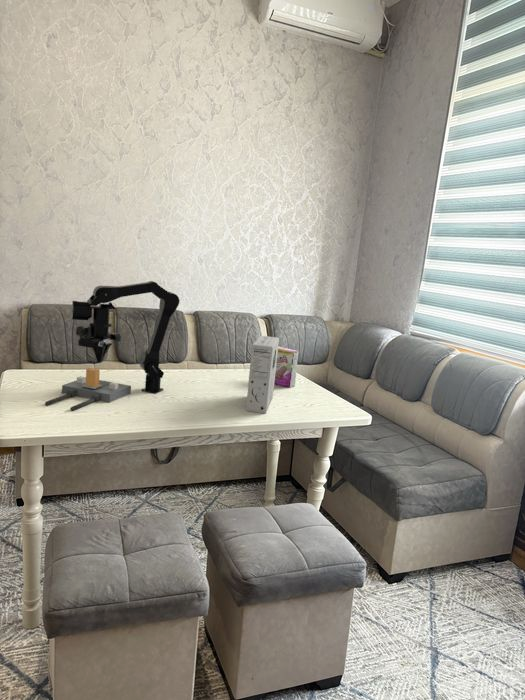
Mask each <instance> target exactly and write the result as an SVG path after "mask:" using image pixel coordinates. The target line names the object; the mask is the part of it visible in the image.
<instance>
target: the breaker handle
mask: <svg viewBox="0 0 525 700" xmlns="http://www.w3.org/2000/svg"><path fill="white" fill-rule="evenodd" d="M100 372H101V371H100V369H99V368H93V367H89V368H86V369H85V377H86V385H83V386H82V387H86V388H92V389H96V388H98V387H101V386H102V385H100V384H99V380H100V375H101V373H100Z"/></svg>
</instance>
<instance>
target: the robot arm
mask: <svg viewBox="0 0 525 700" xmlns="http://www.w3.org/2000/svg"><path fill="white" fill-rule="evenodd" d="M150 293H151V294H153V295H154V296H155V297H156V298H158V299H159V305H158V307H159V310H158V312H159V314H158V317H157V320H156V323H155V326H154V329H153V332H152V335H151V339H150V342H149V345H148V348H146V350H145V351H144V350H141V353H140V357H139V359H138V361H139V366H140V368H142V370H143V371H144V373H145V384H144V388H141V392H146V393H151V394H157V393H160V392H163V391H164V388H162V387H161V380H162V378H164V377H163V376H164V375H165V374H164V373H165V372H164V371H162V370H161V368H160V366H159V365H160V351H161V348H162V345H163V342H164V339H165V335H166V332H167V329H168V326H169V323H170V320H171V318H172V316H173V314H174V313H175V312H176V311H177V308H178V307H179V305H180V298H179V296H178V294H176V293H174V292H171V291H168V290H166V289H165V288H163V287H162V286H160V285H159V284H158V282H156V281H153V280H150V281H149V280H148V281H147V282H140V283H139V282H138V283H134V284H133V283H131V284H125V285H117V286H115V285H98V286H95V287H94V288H93V291H92V295H91V296H90V297H89V298H88V299H87V300H86V301H78V300H72V303H71V309H70V320H72V321H89V320H90V319H91V318H92V322H90V323H89V327H84V326H83V325H79V326H77V327H76V329H75V334H76V335H77V336H78V337H79V339H78V340H77V346H79V347H85V348H91V349H93V352H94V354H95V355H94V356H95V358H96V361H97V363H102V362H103V360H104V358H105V356H106V354H107V352H108V351H109V349H110V348H111V346H112V345H113V343H111V342H110V340H113V341H115V342H116V343H117V342H121V339H122V336H121V334H120V333H118V332H112V331H109V329H110V327H112V323H110V316H111V314H110V311H111V310H116V309H117V308H116V307H115V306H114V305H113V303H112V302H114V301H115V300H117V299H120V298H124V297H131V296H136V295H143V294H150Z"/></svg>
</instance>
